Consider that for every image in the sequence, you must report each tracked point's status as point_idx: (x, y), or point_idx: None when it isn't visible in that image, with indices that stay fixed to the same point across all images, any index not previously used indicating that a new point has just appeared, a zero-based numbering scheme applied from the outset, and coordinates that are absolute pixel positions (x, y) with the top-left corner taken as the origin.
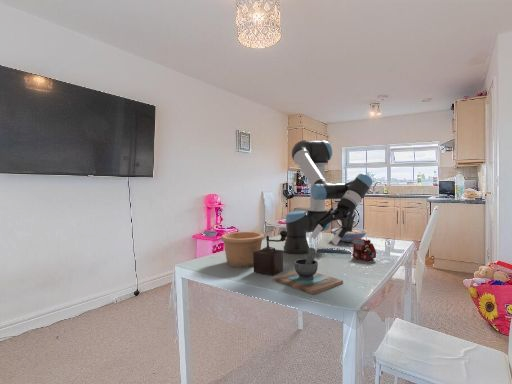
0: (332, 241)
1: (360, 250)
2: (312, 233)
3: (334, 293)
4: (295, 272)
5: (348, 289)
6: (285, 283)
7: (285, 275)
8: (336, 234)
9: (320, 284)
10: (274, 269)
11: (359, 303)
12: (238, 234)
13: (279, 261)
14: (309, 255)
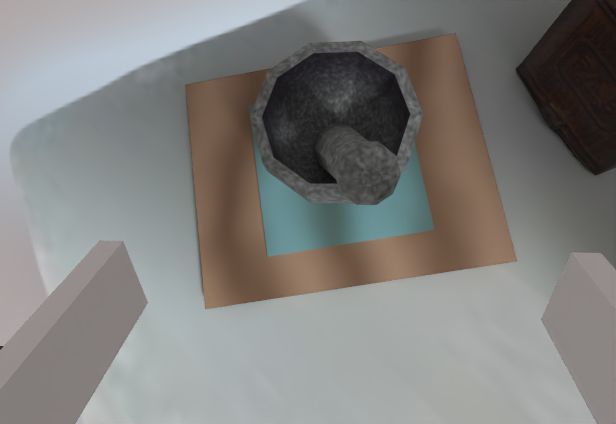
0: (116, 249)
1: None
2: (610, 283)
3: (147, 176)
4: (465, 174)
5: (140, 265)
6: None
7: (446, 98)
8: (33, 328)
9: (229, 166)
10: (543, 69)
11: (22, 186)
12: None
13: (606, 104)
14: (346, 141)
